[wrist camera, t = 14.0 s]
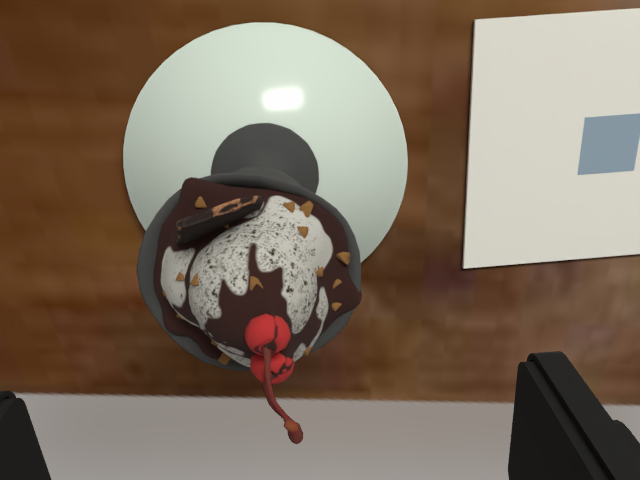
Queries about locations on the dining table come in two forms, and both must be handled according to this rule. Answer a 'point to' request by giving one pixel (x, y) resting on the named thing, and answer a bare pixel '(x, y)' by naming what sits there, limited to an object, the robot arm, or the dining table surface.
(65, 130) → the dining table surface
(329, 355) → the dining table surface
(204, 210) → the sundae
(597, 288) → the dining table surface
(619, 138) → the tile
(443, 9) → the dining table surface
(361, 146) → the plate
